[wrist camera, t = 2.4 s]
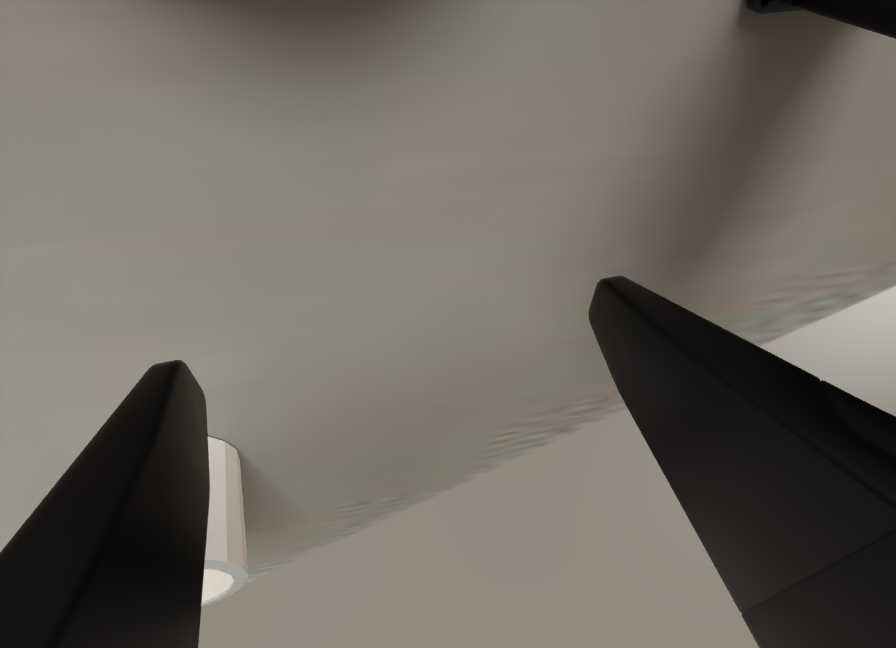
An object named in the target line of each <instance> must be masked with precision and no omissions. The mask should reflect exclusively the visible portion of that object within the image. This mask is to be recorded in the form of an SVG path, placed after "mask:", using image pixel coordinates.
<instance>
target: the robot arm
mask: <svg viewBox="0 0 896 648" xmlns="http://www.w3.org/2000/svg"><path fill="white" fill-rule="evenodd" d="M746 3H747V8H748V9H749V10H751V11H754V12H757V13H773V12H785V11H797V10H806V11H809V12H812V13H816V14H819V15H822V16H825V17H828V18H832V19H835V20H838V21H841V22H844V23H847V24H851V25H854V26H857V27H860V28H863V29H867V30H870V31H873V32H876V33H879V34H883V35H886V36H889V37H892V38H895V39H896V0H747V1H746ZM589 321H590V324H591V326H592V329H593V331H594V334H595V336H596V339H597V341H598V343H599V346H600V348H601V351H602V353H603V356H604V358H605V360H606V363H607V365H608V368H609V370H610V373H611V375H612V377H613V380H614V382H615V384H616V386H617V389H618V391H619V393H620V395H621V396H622V398H623V400H624V402H625V404H626V406H627V408H628V409H629V411H630V413H631V415H632V417H633V419H634V420H635V422H636V424H637V426H638V427H639V429H640V431H641V433H642V435H643V437H644V439H645V440H646V442H647V444H648V446H649V448H650V449H651V451H652V453H653V455H654V457H655V458H656V460H657V462H658V464H659V466H660V468H661V469H662V471H663V473H664V475H665V476H666V478H667V480H668V482H669V484H670V486H671V488H672V489H673V491H674V493H675V495H676V497H677V498H678V500H679V502H680V504H681V506H682V507H683V509H684V511H685V513H686V515H687V517H688V518H689V520H690V522H691V524H692V525H693V527H694V529H695V531H696V533H697V535H698V536H699V538H700V540H701V542H702V544H703V545H704V547H705V549H706V551H707V553H708V555H709V557H710V558H711V560H712V562H713V564H714V566H715V567H716V569H717V571H718V573H719V575H720V576H721V578H722V580H723V582H724V584H725V585H726V587H727V589H728V591H729V593H730V595H731V596H732V598H733V600H734V602H735V604H736V605H737V607H738V609H739V611H740V612H741V613H742V617H743V619H744V621H745V623H746V624H747V626H748V628H749V630H750V632H751V633H752V635H753V637H754V639H755V641H756V642H757V644H758V646H759V648H896V417H895V416H893V415H891V414H889V413H887V412H885V411H882V410H881V409H879V408H877V407H875V406H873V405H871V404H869V403H867V402H865V401H863V400H861V399H859V398H857V397H854V396H853V395H851V394H849V393H847V392H845V391H843V390H841V389H839V388H837V387H835V386H833V385H831V384H830V383H827V382H826V381H820V379H819V378H818V377H816V376H814V375H812V374H810V373H808V372H806V371H804V370H802V369H801V368H799V367H797V366H795V365H793V364H791V363H789V362H787V361H785V360H783V359H781V358H779V357H777V356H775V355H774V354H772V353H770V352H768V351H766V350H764V349H762V348H760V347H758V346H756V345H754V344H752V343H750V342H748V341H747V340H745V339H743V338H741V337H739V336H737V335H735V334H733V333H731V332H729V331H727V330H725V329H723V328H722V327H720V326H718V325H716V324H714V323H712V322H710V321H708V320H706V319H704V318H702V317H700V316H698V315H696V314H695V313H693V312H691V311H689V310H687V309H685V308H683V307H681V306H679V305H677V304H675V303H673V302H671V301H670V300H668V299H666V298H664V297H662V296H660V295H658V294H656V293H654V292H652V291H650V290H648V289H646V288H644V287H643V286H641V285H639V284H637V283H635V282H633V281H631V280H629V279H627V278H625V277H623V276H615V277H610V278H605V279H601V280H600V281H599V282H598V283H597V286H596V289H595V292H594V295H593V299H592V302H591V305H590V308H589ZM209 499H210V473H209V453H208V434H207V414H206V400H205V396H204V393H203V390H202V388H201V387H200V385H199V384H198V382H197V381H196V379H195V377H194V376H193V374H192V373H191V371H190V370H189V368H188V366H187V365H186V364H185V363H184V362H183V361H181V360H174V361H169V362H164V363H159V364H155V365H153V366H152V367H150V368H149V369H148V371H147V372H146V373H145V374H144V375H143V377H142V378H141V379H140V380H139V382H138V383H137V384H136V385H135V387H134V388H133V389H132V390H131V392H130V393H129V394H128V395H127V396H126V398H125V399H124V400H123V401H122V403H121V404H120V405H119V406H118V408H117V409H116V410H115V411H114V413H113V414H112V415H111V416H110V418H109V419H108V420H107V421H106V422H105V424H104V425H103V426H102V427H101V429H100V430H99V431H98V432H97V434H96V435H95V436H94V437H93V439H92V440H91V441H90V442H89V444H88V445H87V446H86V447H85V448H84V450H83V451H82V452H81V453H80V455H79V456H78V457H77V458H76V460H75V461H74V462H73V463H72V465H71V466H70V467H69V468H68V469H67V471H66V472H65V473H64V474H63V476H62V477H61V478H60V479H59V481H58V482H57V483H56V484H55V486H54V487H53V488H52V489H51V491H50V492H49V493H48V494H47V495H46V497H45V498H44V499H43V500H42V502H41V503H40V504H39V505H38V507H37V508H36V509H35V510H34V512H33V513H32V514H31V515H30V517H29V518H28V519H27V520H26V521H25V523H24V524H23V525H22V526H21V528H20V529H19V530H18V531H17V533H16V534H15V535H14V536H13V538H12V539H11V540H10V541H9V543H8V544H7V545H6V546H5V547H4V549H3V550H2V551H1V552H0V648H198V641H199V629H200V628H199V627H200V616H201V603H202V590H203V578H204V565H205V552H206V539H207V526H208V513H209Z"/></svg>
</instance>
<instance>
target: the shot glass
mask: <svg viewBox="0 0 896 648" xmlns="http://www.w3.org/2000/svg"><path fill="white" fill-rule="evenodd" d="M208 453H209V473H210V499H209V513H208V526H207V539H206V552H205V565H204V578H203V590H202V603H201V607H203V606H206V605H208V604H211V603H214V602H216V601H219V600H221V599H224V598H226V597H228V596H230V595H231V594H232V593H234V592H235V591H237V590H239V589H240V588H242V587H243V585H244V583H245V582H246V580H247V579H248V565H247V551H246V538H245V524H244V510H243V497H242V483H241V470H240V458H239V456H238V453H237V450H236V449H235V448H234V447H232V446H231V445H229V444H228V443H227V442H225V441H222V440H219V439H215V438H212V437H208Z"/></svg>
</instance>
